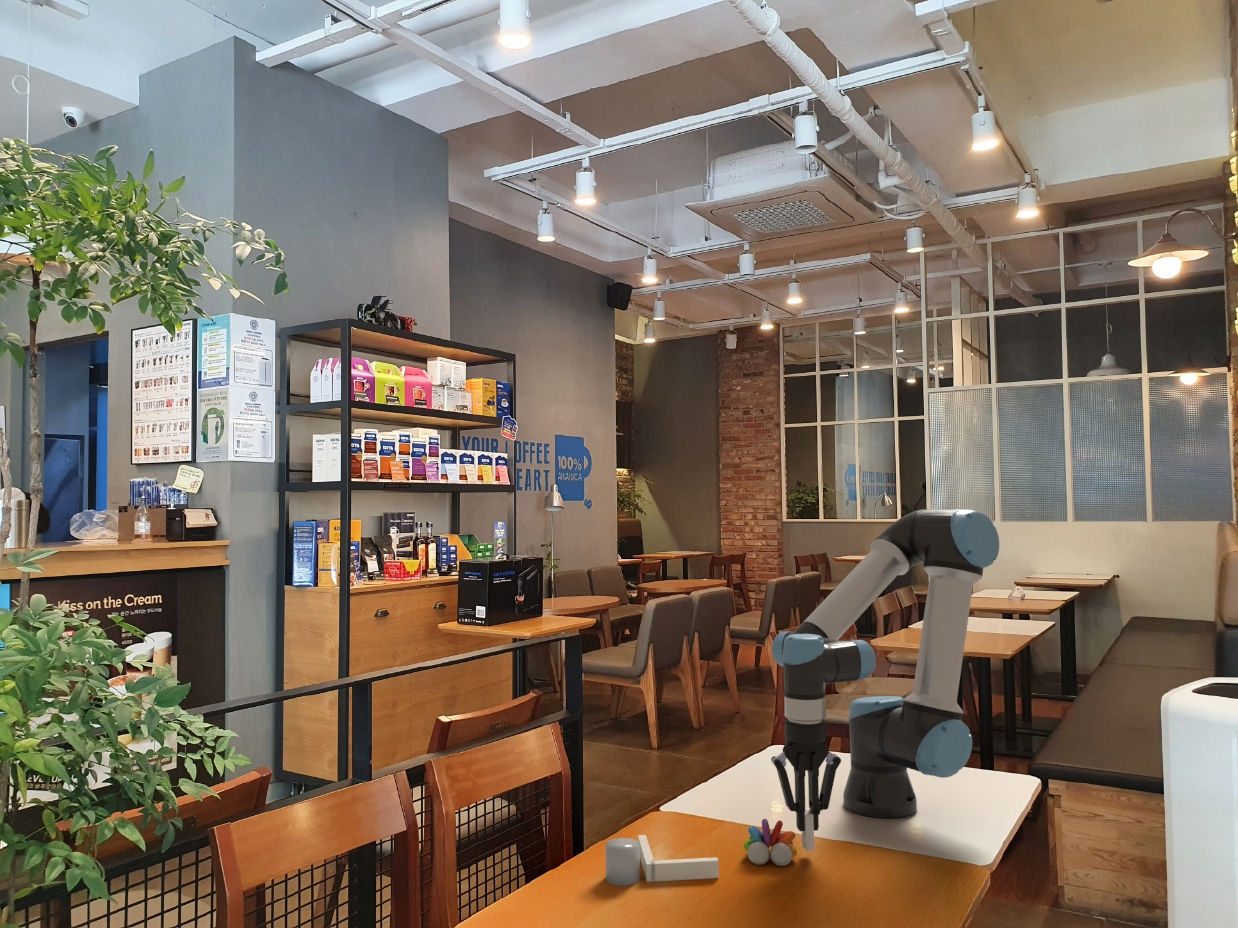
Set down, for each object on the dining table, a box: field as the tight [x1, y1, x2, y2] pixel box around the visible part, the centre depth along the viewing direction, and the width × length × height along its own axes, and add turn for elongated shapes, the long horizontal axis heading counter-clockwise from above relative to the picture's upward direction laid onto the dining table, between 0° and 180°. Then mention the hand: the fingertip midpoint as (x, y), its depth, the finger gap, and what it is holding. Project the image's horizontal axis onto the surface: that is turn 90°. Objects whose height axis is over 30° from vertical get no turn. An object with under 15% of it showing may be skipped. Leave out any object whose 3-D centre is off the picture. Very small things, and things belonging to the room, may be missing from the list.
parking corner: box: [637, 834, 720, 883], centre depth 167 cm, size 13×14×3 cm
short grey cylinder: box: [604, 837, 641, 887], centre depth 161 cm, size 6×6×6 cm
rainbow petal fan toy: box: [743, 818, 798, 867], centre depth 169 cm, size 8×10×7 cm
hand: (808, 847), depth 169 cm, fingers closed
